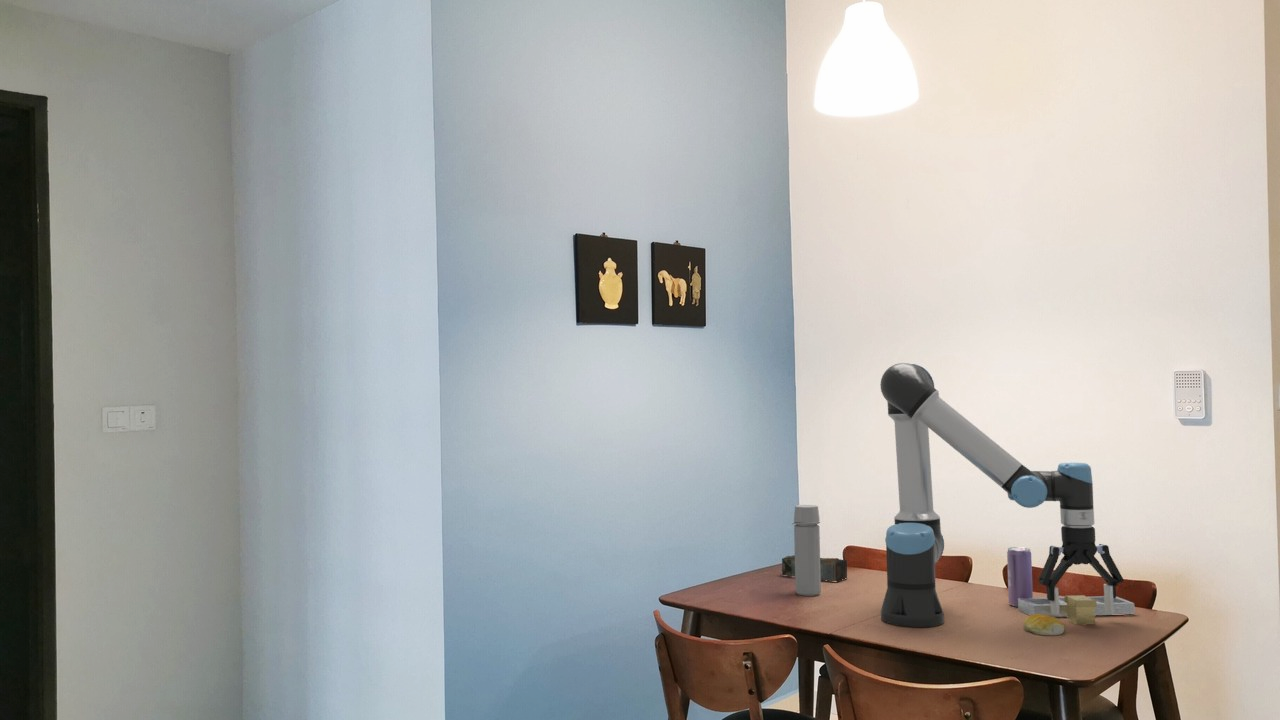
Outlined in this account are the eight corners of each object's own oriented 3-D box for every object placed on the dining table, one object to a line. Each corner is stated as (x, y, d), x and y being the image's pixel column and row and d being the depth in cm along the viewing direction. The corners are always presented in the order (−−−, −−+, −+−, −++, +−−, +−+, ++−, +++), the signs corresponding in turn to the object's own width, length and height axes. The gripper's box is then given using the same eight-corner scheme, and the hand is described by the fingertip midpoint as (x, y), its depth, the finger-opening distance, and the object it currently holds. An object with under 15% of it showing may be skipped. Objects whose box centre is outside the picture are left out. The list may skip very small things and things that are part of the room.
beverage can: (1035, 608, 238) (1033, 550, 239) (1011, 607, 239) (1009, 550, 240) (1030, 603, 244) (1028, 547, 245) (1006, 602, 245) (1005, 546, 246)
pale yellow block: (1077, 625, 220) (1076, 600, 220) (1065, 620, 225) (1064, 595, 226) (1097, 625, 220) (1096, 600, 220) (1084, 619, 226) (1083, 595, 226)
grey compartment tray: (1034, 617, 228) (1033, 605, 228) (1018, 609, 237) (1018, 598, 237) (1134, 615, 229) (1134, 603, 229) (1115, 607, 238) (1115, 596, 238)
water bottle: (827, 595, 257) (825, 506, 258) (803, 597, 254) (801, 508, 256) (809, 589, 266) (807, 503, 267) (786, 591, 263) (784, 504, 264)
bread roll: (1045, 626, 221) (1045, 609, 221) (1070, 635, 212) (1070, 617, 212) (1015, 628, 219) (1015, 611, 219) (1039, 637, 210) (1039, 620, 210)
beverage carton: (793, 573, 292) (792, 552, 292) (848, 579, 280) (848, 558, 281) (781, 577, 286) (781, 556, 286) (837, 584, 274) (837, 562, 274)
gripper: (1035, 529, 220) (1040, 618, 218) (1135, 526, 221) (1141, 614, 219) (1021, 525, 227) (1025, 611, 226) (1118, 522, 228) (1123, 607, 227)
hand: (1082, 613), depth 223 cm, fingers open, 13 cm apart
